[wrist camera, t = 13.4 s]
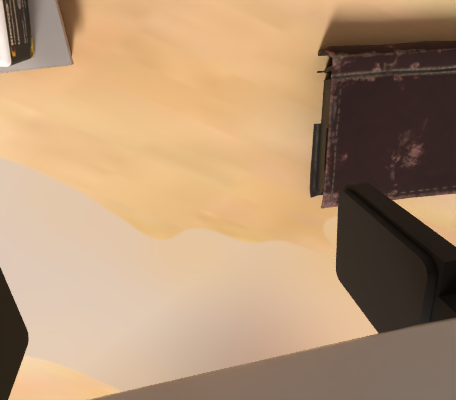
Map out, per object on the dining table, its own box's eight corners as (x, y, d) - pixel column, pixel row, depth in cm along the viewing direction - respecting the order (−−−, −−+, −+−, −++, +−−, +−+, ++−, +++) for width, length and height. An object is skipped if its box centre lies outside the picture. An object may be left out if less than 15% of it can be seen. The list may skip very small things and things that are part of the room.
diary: (315, 45, 43) (335, 48, 38) (511, 35, 47) (550, 36, 42) (307, 199, 50) (323, 216, 46) (475, 180, 54) (505, 193, 50)
